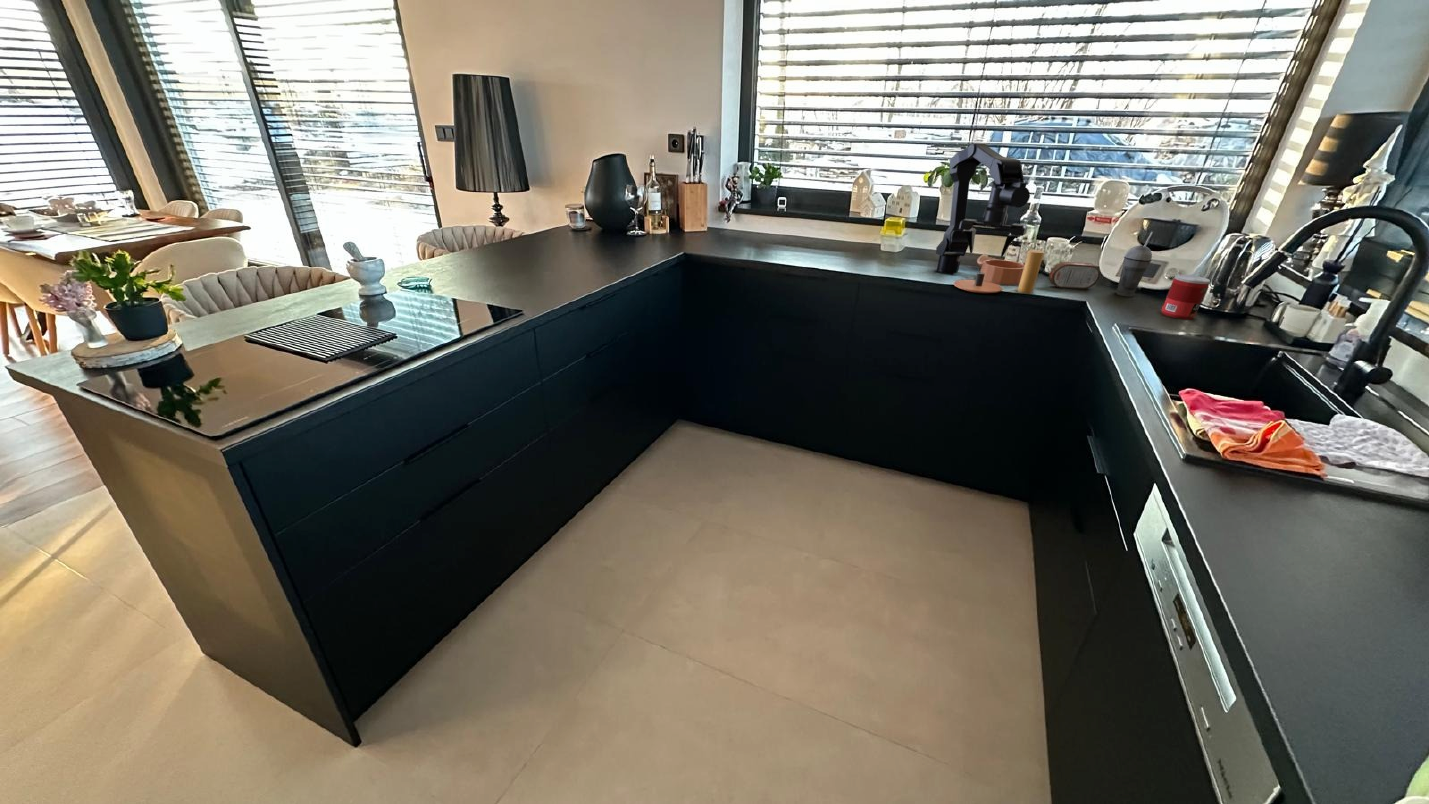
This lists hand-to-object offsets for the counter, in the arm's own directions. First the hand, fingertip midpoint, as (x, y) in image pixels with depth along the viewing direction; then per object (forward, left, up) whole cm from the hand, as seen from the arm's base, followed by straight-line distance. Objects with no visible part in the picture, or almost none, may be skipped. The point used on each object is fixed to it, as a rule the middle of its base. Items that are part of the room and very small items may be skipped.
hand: (986, 254), depth 178 cm
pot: (+3, +18, -11) cm, 21 cm away
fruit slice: (-5, +31, -11) cm, 33 cm away
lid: (0, 0, -10) cm, 10 cm away
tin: (+24, +23, -11) cm, 35 cm away
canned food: (+53, +10, -11) cm, 55 cm away
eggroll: (+13, +7, -11) cm, 18 cm away
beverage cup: (+39, +26, -11) cm, 48 cm away
